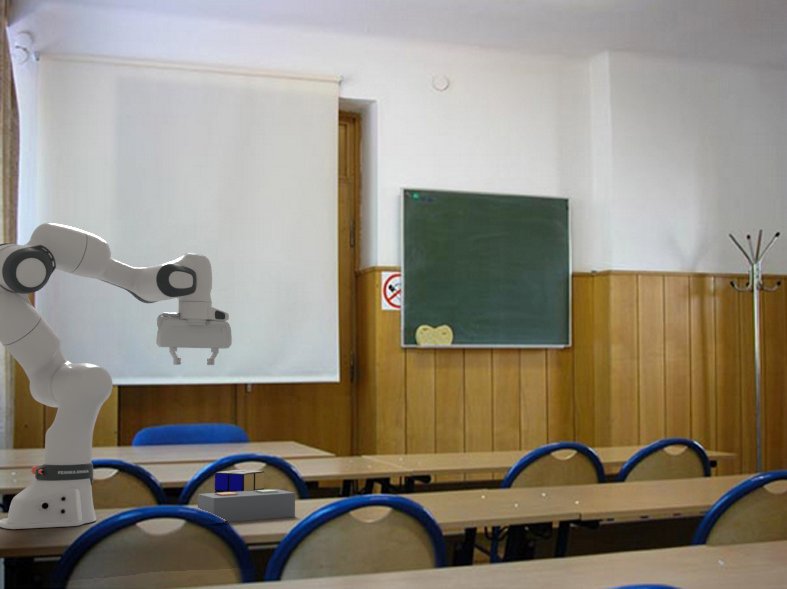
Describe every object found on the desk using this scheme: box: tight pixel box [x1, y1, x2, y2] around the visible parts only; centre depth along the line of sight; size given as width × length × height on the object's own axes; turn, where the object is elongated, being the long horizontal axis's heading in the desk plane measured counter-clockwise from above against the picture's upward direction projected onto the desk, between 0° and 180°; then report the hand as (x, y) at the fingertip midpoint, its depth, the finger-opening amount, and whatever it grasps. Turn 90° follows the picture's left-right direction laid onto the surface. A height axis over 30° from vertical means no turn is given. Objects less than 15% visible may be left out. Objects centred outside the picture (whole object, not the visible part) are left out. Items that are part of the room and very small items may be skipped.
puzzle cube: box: [214, 469, 266, 493], centre depth 257 cm, size 10×10×10 cm
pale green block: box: [256, 488, 277, 494], centre depth 241 cm, size 4×4×6 cm
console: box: [197, 488, 296, 523], centre depth 238 cm, size 22×11×6 cm, turn 122°
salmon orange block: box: [216, 492, 238, 496], centre depth 235 cm, size 4×4×6 cm
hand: (194, 364), depth 251 cm, fingers open, 8 cm apart
